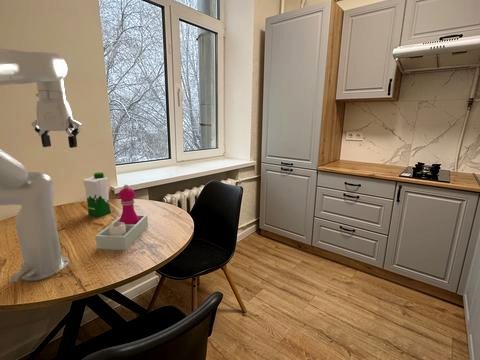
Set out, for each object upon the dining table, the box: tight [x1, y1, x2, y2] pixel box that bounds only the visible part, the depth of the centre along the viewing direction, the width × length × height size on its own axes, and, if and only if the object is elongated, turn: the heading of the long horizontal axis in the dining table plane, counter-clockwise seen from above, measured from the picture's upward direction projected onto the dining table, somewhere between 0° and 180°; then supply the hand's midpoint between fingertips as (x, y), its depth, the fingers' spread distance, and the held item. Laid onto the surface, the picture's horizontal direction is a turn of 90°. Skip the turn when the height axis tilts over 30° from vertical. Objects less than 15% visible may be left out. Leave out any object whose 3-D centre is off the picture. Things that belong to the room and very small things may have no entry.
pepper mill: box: [118, 184, 139, 225], centre depth 105 cm, size 7×7×20 cm
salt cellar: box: [108, 221, 126, 236], centre depth 97 cm, size 6×6×8 cm
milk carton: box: [82, 172, 112, 218], centre depth 125 cm, size 9×9×20 cm
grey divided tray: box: [95, 214, 149, 251], centre depth 102 cm, size 20×11×6 cm, turn 178°
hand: (60, 147), depth 93 cm, fingers open, 9 cm apart
